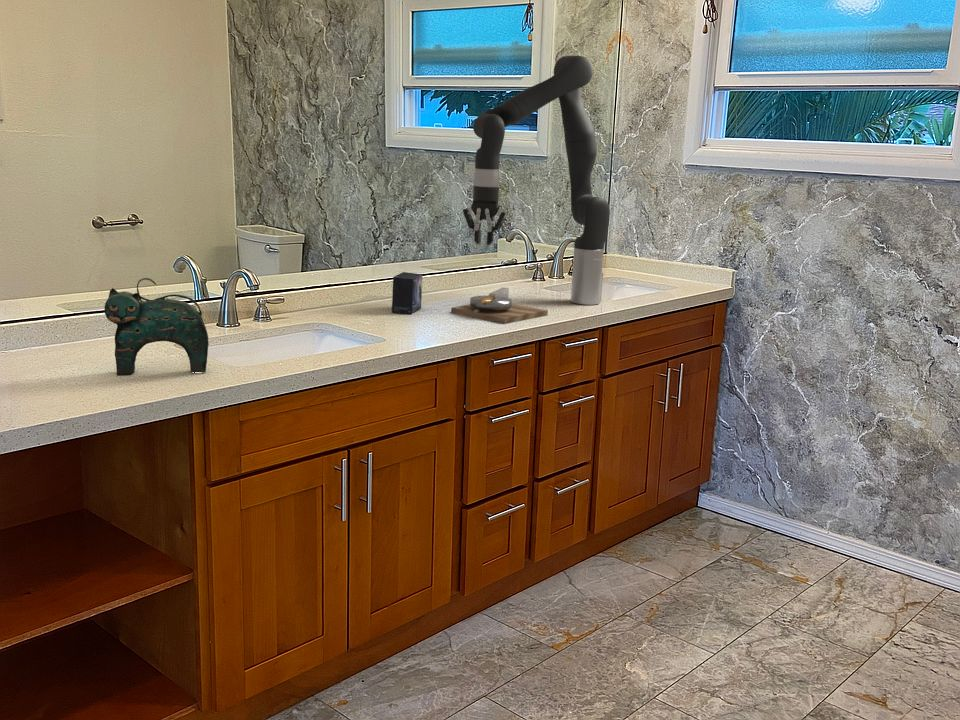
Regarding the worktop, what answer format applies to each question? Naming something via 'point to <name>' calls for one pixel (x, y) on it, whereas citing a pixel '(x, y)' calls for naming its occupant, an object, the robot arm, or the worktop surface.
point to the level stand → (501, 313)
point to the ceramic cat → (155, 327)
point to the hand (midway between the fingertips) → (483, 243)
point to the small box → (407, 293)
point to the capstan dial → (492, 300)
